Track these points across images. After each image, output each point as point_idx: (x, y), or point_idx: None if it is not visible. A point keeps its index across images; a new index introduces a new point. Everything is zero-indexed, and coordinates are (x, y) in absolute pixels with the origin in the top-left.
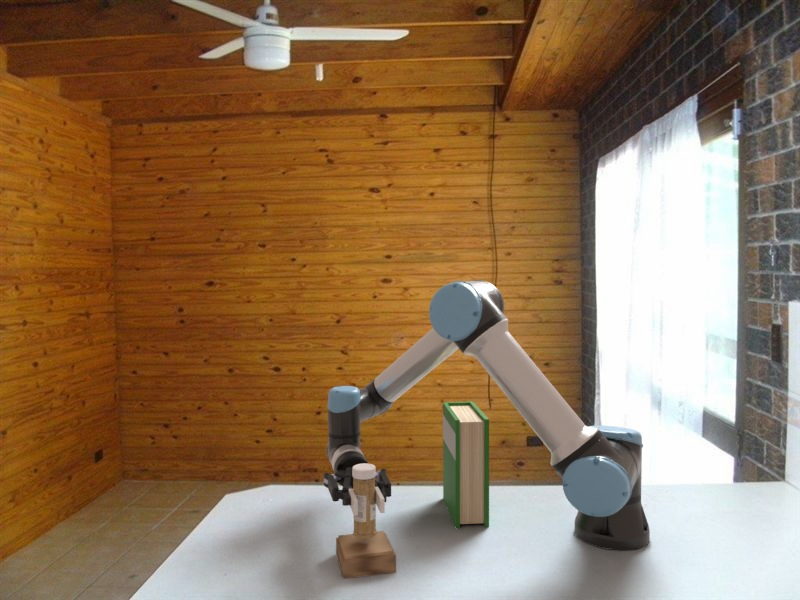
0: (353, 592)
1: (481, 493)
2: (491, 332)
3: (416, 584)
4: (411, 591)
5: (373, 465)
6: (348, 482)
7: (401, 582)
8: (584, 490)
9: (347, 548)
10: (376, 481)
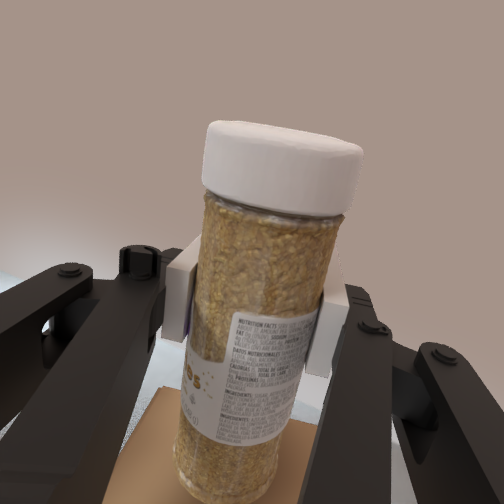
0: (295, 402)
1: None
2: None
3: (151, 366)
4: (178, 354)
5: (222, 120)
6: (341, 403)
7: (174, 386)
8: None
9: (301, 471)
10: (96, 323)
